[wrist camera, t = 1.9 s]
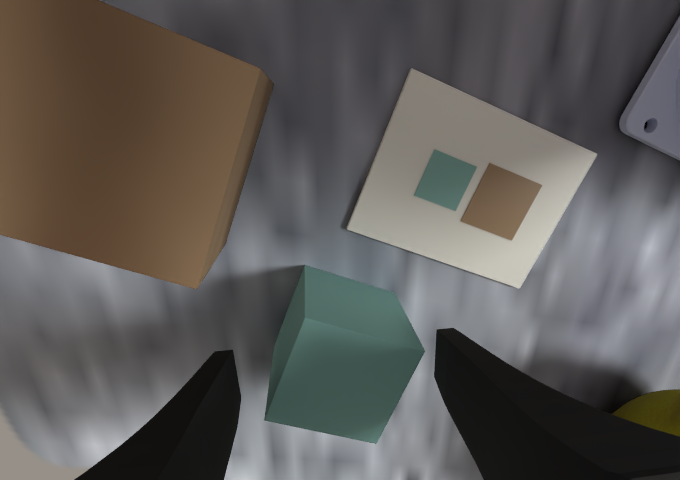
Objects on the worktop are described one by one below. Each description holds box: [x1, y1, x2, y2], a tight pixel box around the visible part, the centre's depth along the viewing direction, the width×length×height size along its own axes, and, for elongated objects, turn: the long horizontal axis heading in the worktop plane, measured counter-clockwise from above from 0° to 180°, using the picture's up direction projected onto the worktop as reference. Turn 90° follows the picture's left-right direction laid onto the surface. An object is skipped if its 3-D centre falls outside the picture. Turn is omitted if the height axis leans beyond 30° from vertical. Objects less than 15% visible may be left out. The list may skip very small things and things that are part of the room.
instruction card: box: [347, 69, 598, 289], centre depth 13 cm, size 8×6×1 cm
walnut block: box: [0, 0, 274, 289], centre depth 10 cm, size 6×6×4 cm
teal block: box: [265, 265, 425, 444], centre depth 13 cm, size 4×4×4 cm
